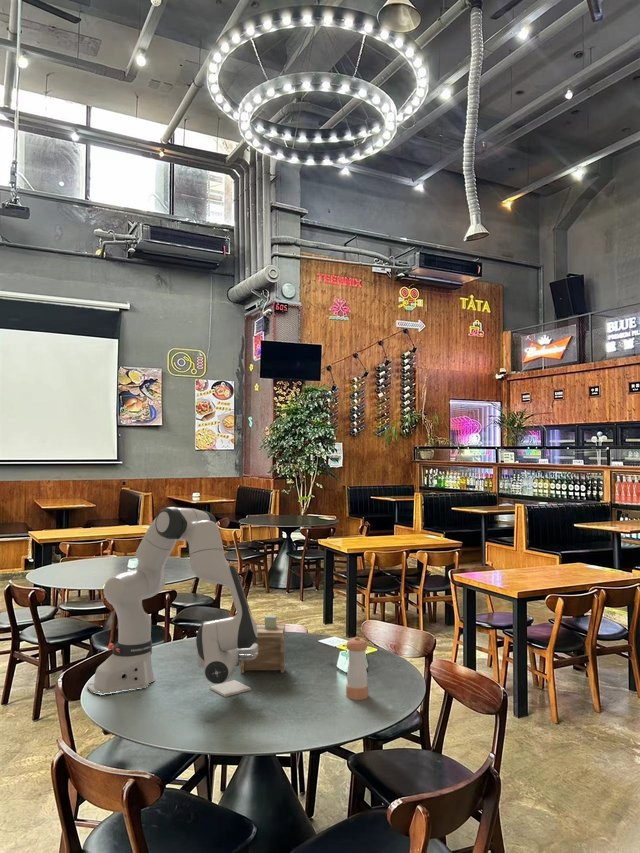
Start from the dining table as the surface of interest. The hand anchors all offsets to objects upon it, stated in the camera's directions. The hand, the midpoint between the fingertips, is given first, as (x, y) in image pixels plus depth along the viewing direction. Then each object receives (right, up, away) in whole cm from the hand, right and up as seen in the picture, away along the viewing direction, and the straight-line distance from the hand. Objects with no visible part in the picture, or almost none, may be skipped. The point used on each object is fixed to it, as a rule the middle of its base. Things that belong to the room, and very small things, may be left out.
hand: (230, 644), depth 211 cm
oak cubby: (+9, -16, +13) cm, 23 cm away
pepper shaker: (+43, -14, -8) cm, 46 cm away
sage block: (+12, +1, +17) cm, 21 cm away
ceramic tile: (0, -15, -2) cm, 15 cm away
